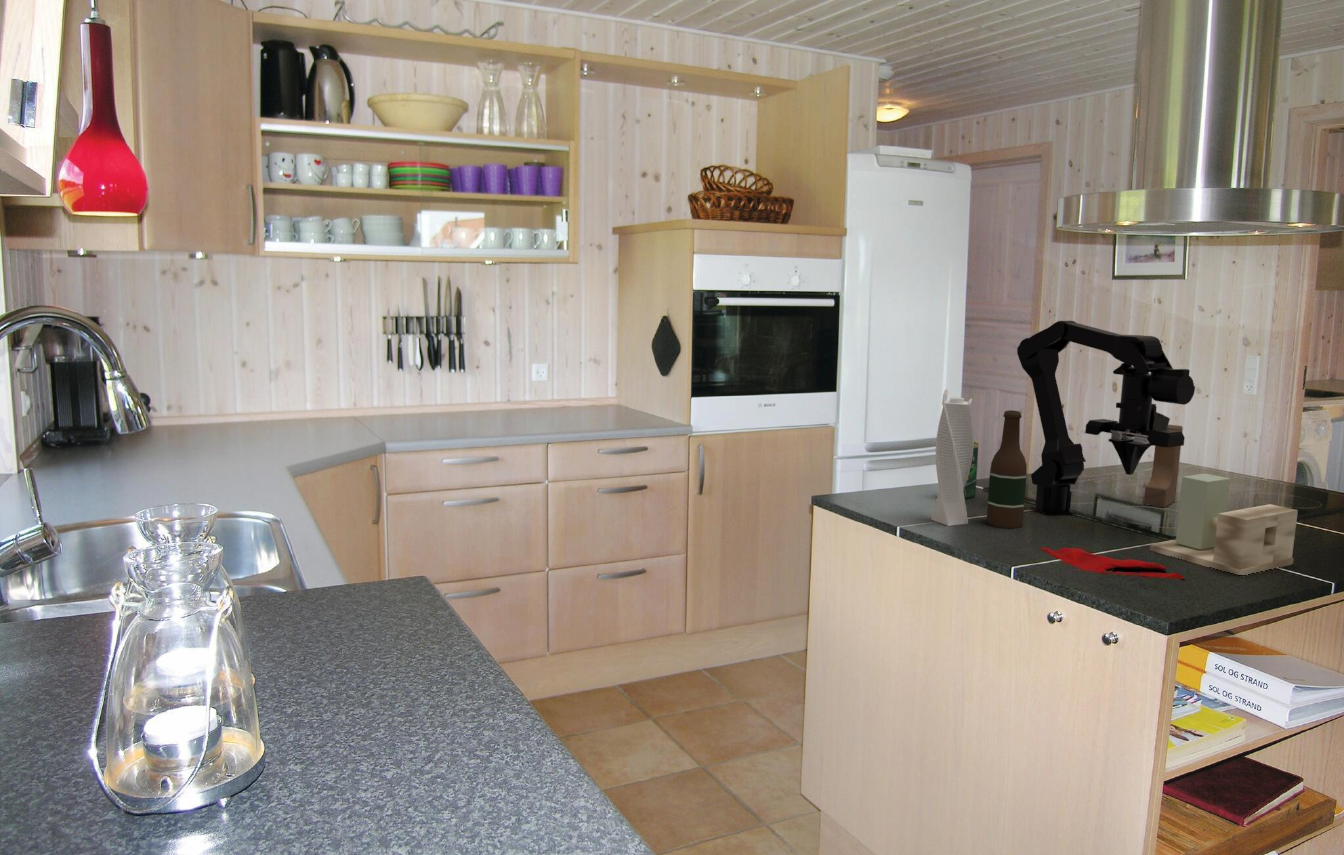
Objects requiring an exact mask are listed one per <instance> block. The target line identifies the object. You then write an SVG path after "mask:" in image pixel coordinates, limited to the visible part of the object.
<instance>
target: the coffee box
mask: <svg viewBox="0 0 1344 855" xmlns="http://www.w3.org/2000/svg"><path fill="white" fill-rule="evenodd" d="M978 457H979V442H975V441H974V447H973V456H972V462H971V467H970V471H969V475H968V478H967V481H966V484H965V487H964V490H963V492H964V498H965V500H966V499H972V498H976V494H977V479H978V478H977V476H978V475H977V474H978V460H979V459H978Z"/></svg>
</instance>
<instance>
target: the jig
mask: <svg viewBox="0 0 1344 855" xmlns="http://www.w3.org/2000/svg"><path fill="white" fill-rule="evenodd" d="M1298 512H1299V511H1298V509H1293V508H1289V507H1285V506H1279V505H1275V504H1270V503H1269V504H1265V505H1258V506H1254V507H1253V506H1252V507H1246V508H1241V509H1236V510H1231V511H1227V512H1224V513H1218V521H1217V530H1216V539H1215V547H1211V548H1206V549H1202V550H1200V549H1196V548H1192V547H1189V546H1185V545H1181V544H1178V543H1176V539H1172V540H1167V541H1163V542H1162V541H1161V542H1157V543H1151V544H1150V547H1149V551H1150V552H1153V553H1157V554H1161V555H1163V556H1168V557H1171V556H1172V558H1174V557H1175V558H1174V559H1178V558H1179V560H1181V559H1182V561H1185V560H1186V562H1188V563H1192V564H1196V565H1200V566H1203V567H1206V568H1209V567H1212V568H1211V569H1213V568H1215V569H1214V570H1216V569H1219V570H1218V571H1220V570H1222V571H1221V572H1223V571H1227V572H1230V573H1234V574H1237V575H1247V576H1249V575H1248V574H1251V573H1255V574H1257V573H1256V572H1259V573H1261V572H1260V571H1263V572H1266V571H1265V570H1268V569H1272V570H1275V569H1274V568H1276V569H1278V568H1277V567H1280V568H1284V566H1285V567H1288V566H1292V564H1293V565H1294V557H1293V553H1294V552H1293V551H1294V543H1295V535H1296V529H1297V528H1296V527H1297V522H1298V521H1297V519H1298ZM1268 571H1269V570H1268ZM1227 572H1226V573H1227ZM1230 573H1229V574H1230ZM1234 574H1233V575H1234ZM1237 575H1236V576H1237ZM1251 575H1252V574H1251Z"/></svg>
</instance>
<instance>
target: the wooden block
mask: <svg viewBox="0 0 1344 855" xmlns="http://www.w3.org/2000/svg"><path fill="white" fill-rule="evenodd" d="M1167 429H1169V430H1176V431H1181V432H1182V433H1183V429H1184V427H1183V426H1182V425H1178V424H1177V425H1176V424H1168V427H1167ZM1181 447H1182V446H1175V447H1159V446H1154V453H1153V454H1154V455H1153V462H1152V472H1151V476H1150V479H1149V482H1148V483H1147V484H1146V485H1145V487H1144V488H1145V489H1144V498H1143V504H1144V505H1145V504H1149V505H1153V506H1152V507H1156V506H1159V507H1158V508H1162V507H1163V509H1165V508H1166V507H1168V506H1169V505H1171V504H1172V503H1175V501H1176V495H1177V485H1178V478H1179V468H1180V467H1179V466H1180V457H1181V449H1182V448H1181ZM1149 505H1148V506H1149Z"/></svg>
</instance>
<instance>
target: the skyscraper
mask: <svg viewBox="0 0 1344 855" xmlns="http://www.w3.org/2000/svg"><path fill="white" fill-rule="evenodd" d="M942 394H943V395H942V402H941V405H942V409H941V413H940V418H939V422H938V425H937V426H938V427H937V432H936V439H935V468H936V477H937V484H938V493H937V496H936V500H935V504H934V508H933V512H932V516H931V521H935V522H937V523H939V524H942V525H944V526H947V527H950V526H960V525H968V524H969V519H968V513H967V505H966V499H965V498H964V492H963V490H964V487H965V484H966V481H967V478H968V475H969V471H970V467H971V462H972V456H973V447H974V442H975V440H974V439H975V437H974V436H975V435H974V434H975V432H974V430H975V429H974V420H973V412H972V404H973V403H974V402H973V398H970V399H969V400H968V401H965V398H964V397H956V396H955V397H953V396H952V397H950V398H949V399H948V394H949V390H948V388H945V389H944V391H943V393H942Z"/></svg>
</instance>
